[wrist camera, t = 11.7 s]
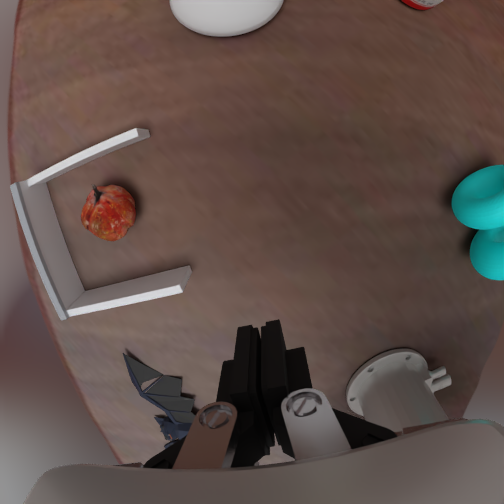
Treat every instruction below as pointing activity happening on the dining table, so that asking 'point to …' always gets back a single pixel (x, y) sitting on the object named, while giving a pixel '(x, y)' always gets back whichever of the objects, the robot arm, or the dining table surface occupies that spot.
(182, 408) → the decorative bat
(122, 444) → the dining table surface
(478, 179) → the donuts
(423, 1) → the beer can
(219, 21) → the flower in vase
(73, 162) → the box
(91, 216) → the pomegranate
